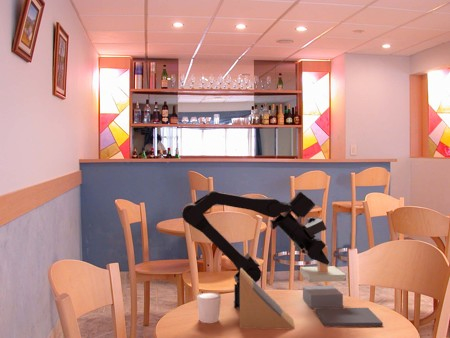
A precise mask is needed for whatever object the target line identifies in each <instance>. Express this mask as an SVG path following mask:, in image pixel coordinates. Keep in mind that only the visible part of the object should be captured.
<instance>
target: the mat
mask: <svg viewBox="0 0 450 338" xmlns="http://www.w3.org/2000/svg"><path fill="white" fill-rule="evenodd" d="M314 312H315V313H316V315H317V316H318V318H319V320H320V322H321V323H322V324H323V326H324V327H325V328H326V327H327V328H328V327H329V328H331V327H332V328H333V327H341V328H342V327H383V325H384V323H383V321H382V320H381V319H380V318H379V317H378V316H377V315H376V314H375V313H374V312H373V310H371V309H370V308H369V307H330V308H314Z"/></svg>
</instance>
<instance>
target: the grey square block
mask: <svg viewBox="0 0 450 338" xmlns="http://www.w3.org/2000/svg"><path fill="white" fill-rule="evenodd" d="M302 299H303V300H304V302H306V304H307V305H308V306H309V308H311V309H315V308H344V302H343V301H344V294H343V293H342V292H341V291H340V290H339V289H337V287H335V286H333V285H312V286H311V285H310V286H309V285H308V286H307V285H306V286H302Z"/></svg>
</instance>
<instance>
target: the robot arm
mask: <svg viewBox="0 0 450 338" xmlns="http://www.w3.org/2000/svg"><path fill="white" fill-rule="evenodd" d="M215 205H221V206H226V207H231V208H238V209H243V210H250V211H254V212H256V213H258V214H261V215H264V216H267V217H269V218H274V219H270V220H269V222H270V226H269V227H270V228H271V229H272V230H275V229H276V228H277V227H278V228H279V229H280V230H281V232H283V233H284V234H285V235H286V236H287V238H288V239H290V241H292V243H293V245H294V246H295V247H296V248H297V250H301V253H303V254H305V256H306V257H308V258H309V259H310V260H315V261H316V262H317V261H319V262H321V263H324V264H326V265H328V266H329V264H330V261H329V258H328V259H327V257H326V256H325V254H324V253H323V251H322V249H323V248H324V247H325V246H327V244H326V243H325V242H324V240H321V239H320V238H316V237H317V236H316V235H317V234H319V233H321V232H322V231H323V232H325V231H326V230H327V226H326V224H325V222H324V220H323V219H322V218H316V219H315V218H314V217H312V216H311V217H308V218H307V223H306V224H303V223H300V221H299V220H298V219H300V218H301V219H304V218H305V217H306V216H307V215H308V214H309V213H310V212H311V211H312V210H313V209H314V208H315V207H316V204H315V203H314V201H313V200H312V199H311V198H309V197H307V196H306V195H305V194H304V193H303V192H302V191H297V193H296V194H295V195H294V196H293V197H292V199H291V200H290V201H289V202H286V201H283V202H282V201H280V200H278V199H276V198H274V197H249V196H242V195H239V194H238V195H237V194H233V193H225V192H220V191H218V190H210V191H208V192H207V194H205V195H204V196H202V197H200V198H198V199H197V200H196V201H194V202H188V203H186V204H185V205H184V206H183V207H182V209H181V215H182V219H183V220H184V222H186V223H187V224H188V225H190V226H191V227H193V228H194V229H196V230H197V231H199V232H201V233H202V234H203V235H204V236H206V238H208V240H209V241H210V242H211V243H212V244H213V245H214V246H215V247H217V248H218V249H219V250H220V251H221V253H222V254H223V255H224V256H225V257H226V258H228V260H230V262H231V263H233V265H234V266H235V268H236V269H237V271H238V272H236V274H234V276H233V280H234V282H235V283H236V284H235V283H234V286H233V287H234V288H233V289H234V292H233V293H234V297H233V299H234V300H233V305H234V306H233V307H234V309H240V268H242V269H243V270H244V271H245V272H246V273H247V274H248V275H249V276H250V277H251V278H252V279H253V280H254V281H255V282H256V283H257V282H258V281H259V280H261V277H262V270H261V268H260V264H259V263H258V261H257V259H256V260H255V259H254V258H252V256H251V255H250V253H249V252H247V253H246V254H245V255H244V254H243V253H241V252H240V251H239V250H238V249H237V248H236V247H235V246H234V245H233V244H232V243H231V242H230V241H228V239H227V238H226V237H225V236H224V235H222V233H221V232H220V231H219V230H218V229H216V228H215V226H213V224H212V223H210V221H209V219H208V218H207V217H206V215H205V213H206V212H207V211H209V210H210V209H212V208H213V207H214V206H215ZM292 214H293V215H292ZM295 217H296V218H297V219H296V218H295Z"/></svg>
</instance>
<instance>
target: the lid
mask: <svg viewBox="0 0 450 338" xmlns="http://www.w3.org/2000/svg"><path fill="white" fill-rule="evenodd" d="M328 247H329V246H328V245H326V246H325V247H324V248H323V249H322V251H323V253H324V254H325V256H326V257H327V259H328V260H329V248H328ZM316 263H317V264H316V265H317V266H300V269H299V270H300V274H301V276H303V277H304V278H305V279H306V280H307V281H308V282H309V283H324V282H325V283H328V282H346V281H347V274H346V273H345V272H343V271H341V269H338V267H336V266H335V265H332V266H331V265H329V264H328V265H326V264H324V263H321V262H319V261H317V260H316Z"/></svg>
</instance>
